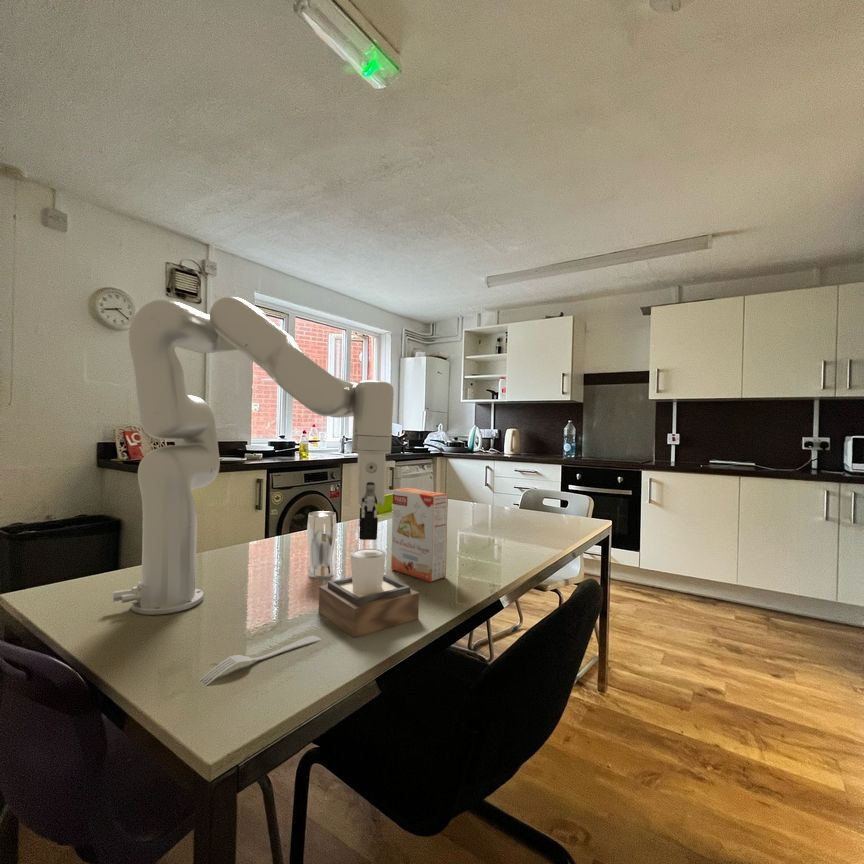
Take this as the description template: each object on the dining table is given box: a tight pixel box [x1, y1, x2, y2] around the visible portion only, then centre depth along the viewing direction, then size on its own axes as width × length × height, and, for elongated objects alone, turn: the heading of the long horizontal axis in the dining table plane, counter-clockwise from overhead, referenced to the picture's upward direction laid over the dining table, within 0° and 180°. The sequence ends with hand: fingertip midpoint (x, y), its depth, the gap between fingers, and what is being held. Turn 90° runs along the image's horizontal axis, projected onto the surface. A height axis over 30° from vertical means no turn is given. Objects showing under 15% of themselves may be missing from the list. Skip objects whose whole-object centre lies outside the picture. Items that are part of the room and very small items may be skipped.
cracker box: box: [390, 487, 449, 583], centre depth 117 cm, size 14×6×21 cm, turn 48°
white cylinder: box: [350, 548, 387, 594], centre depth 90 cm, size 7×7×7 cm
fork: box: [198, 635, 322, 687], centre depth 73 cm, size 3×21×3 cm, turn 140°
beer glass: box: [306, 510, 337, 579], centre depth 114 cm, size 7×7×15 cm
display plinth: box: [318, 574, 420, 638], centre depth 91 cm, size 14×14×6 cm
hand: (367, 533), depth 90 cm, fingers open, 9 cm apart
